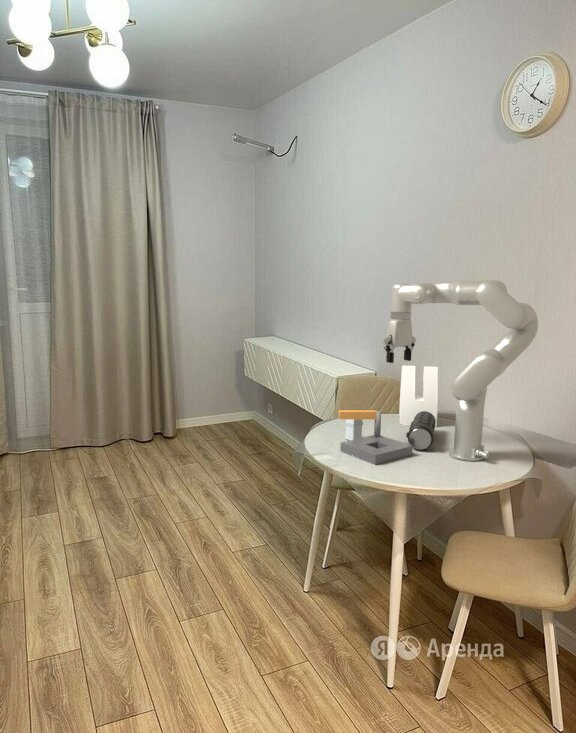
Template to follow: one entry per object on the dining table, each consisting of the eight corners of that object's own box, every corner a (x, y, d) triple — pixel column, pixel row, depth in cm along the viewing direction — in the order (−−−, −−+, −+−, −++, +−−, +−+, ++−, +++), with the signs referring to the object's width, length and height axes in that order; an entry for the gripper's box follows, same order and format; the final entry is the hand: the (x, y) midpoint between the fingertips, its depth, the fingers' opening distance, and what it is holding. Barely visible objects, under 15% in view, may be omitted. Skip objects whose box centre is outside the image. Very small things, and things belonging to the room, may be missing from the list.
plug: (362, 440, 226) (363, 416, 225) (353, 442, 224) (353, 417, 222) (353, 437, 230) (354, 413, 229) (344, 439, 228) (345, 415, 226)
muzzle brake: (412, 433, 241) (437, 431, 238) (406, 452, 215) (434, 450, 212) (409, 411, 240) (434, 409, 237) (403, 428, 214) (431, 425, 211)
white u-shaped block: (436, 427, 248) (439, 370, 244) (400, 425, 250) (402, 369, 246) (432, 416, 266) (435, 363, 262) (399, 414, 269) (401, 362, 265)
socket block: (412, 455, 209) (412, 445, 209) (375, 464, 198) (375, 455, 198) (376, 443, 224) (377, 434, 223) (340, 451, 212) (340, 442, 212)
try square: (379, 434, 221) (380, 410, 220) (380, 436, 219) (381, 411, 218) (338, 434, 221) (338, 410, 219) (338, 436, 218) (339, 411, 217)
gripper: (408, 315, 224) (406, 358, 227) (377, 316, 214) (375, 362, 217) (423, 316, 218) (421, 360, 221) (392, 318, 208) (390, 364, 211)
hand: (398, 361), depth 219 cm, fingers open, 9 cm apart
